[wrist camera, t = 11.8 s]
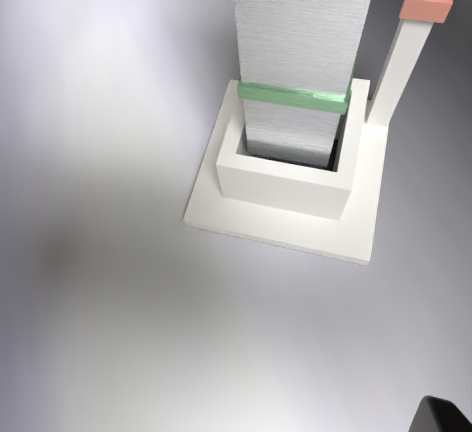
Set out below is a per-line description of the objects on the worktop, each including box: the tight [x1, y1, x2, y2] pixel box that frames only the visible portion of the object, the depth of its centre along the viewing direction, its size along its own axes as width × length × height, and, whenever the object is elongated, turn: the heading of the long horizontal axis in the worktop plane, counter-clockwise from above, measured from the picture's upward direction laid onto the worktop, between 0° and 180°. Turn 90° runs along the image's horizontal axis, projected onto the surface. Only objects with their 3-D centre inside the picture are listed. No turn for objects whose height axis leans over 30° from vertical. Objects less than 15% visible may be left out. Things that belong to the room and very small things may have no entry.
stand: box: [183, 0, 453, 265], centre depth 20 cm, size 10×11×10 cm
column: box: [234, 0, 370, 167], centre depth 15 cm, size 4×4×13 cm
